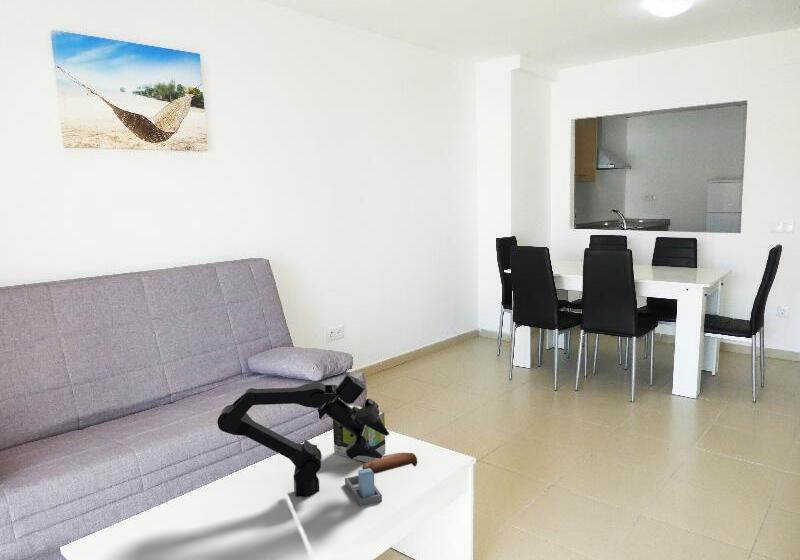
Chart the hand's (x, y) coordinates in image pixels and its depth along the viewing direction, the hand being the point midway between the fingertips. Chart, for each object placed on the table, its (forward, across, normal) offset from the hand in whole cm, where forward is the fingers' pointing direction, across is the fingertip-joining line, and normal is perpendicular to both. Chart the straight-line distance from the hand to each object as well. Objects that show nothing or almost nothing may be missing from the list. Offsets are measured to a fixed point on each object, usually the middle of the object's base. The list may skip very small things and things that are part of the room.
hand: (384, 445), depth 169 cm
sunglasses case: (+11, +9, +15) cm, 21 cm away
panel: (+4, -9, +12) cm, 16 cm away
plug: (+4, -12, +9) cm, 15 cm away
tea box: (+4, +16, +25) cm, 30 cm away
